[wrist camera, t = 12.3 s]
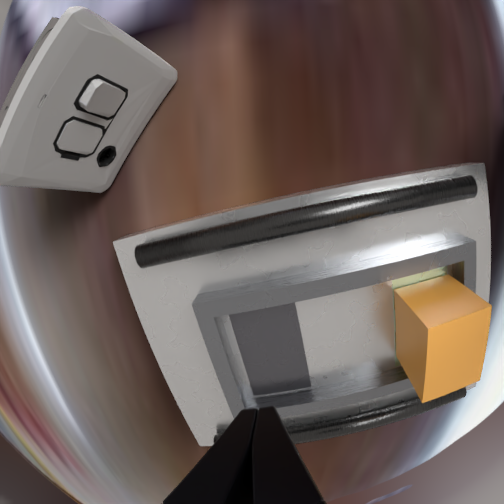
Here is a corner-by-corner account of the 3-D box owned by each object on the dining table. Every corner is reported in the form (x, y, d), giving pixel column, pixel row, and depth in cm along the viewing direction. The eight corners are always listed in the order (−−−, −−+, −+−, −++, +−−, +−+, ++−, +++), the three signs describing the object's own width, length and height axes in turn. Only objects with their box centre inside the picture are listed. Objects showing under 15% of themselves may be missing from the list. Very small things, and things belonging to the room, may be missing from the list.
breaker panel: (468, 162, 17) (498, 163, 13) (465, 374, 21) (482, 396, 17) (126, 235, 20) (100, 247, 16) (204, 430, 24) (196, 458, 20)
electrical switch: (108, 194, 19) (2, 205, 10) (66, 158, 19) (-34, 155, 10) (184, 75, 17) (104, 8, 8) (132, 48, 17) (48, -7, 8)
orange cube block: (448, 274, 16) (491, 305, 12) (446, 340, 18) (479, 380, 13) (393, 289, 17) (428, 328, 12) (396, 356, 18) (422, 403, 13)
